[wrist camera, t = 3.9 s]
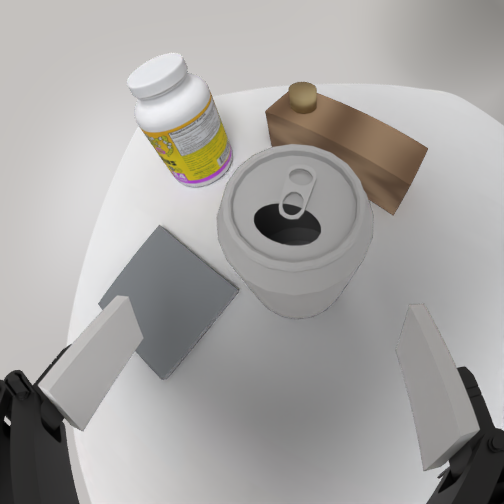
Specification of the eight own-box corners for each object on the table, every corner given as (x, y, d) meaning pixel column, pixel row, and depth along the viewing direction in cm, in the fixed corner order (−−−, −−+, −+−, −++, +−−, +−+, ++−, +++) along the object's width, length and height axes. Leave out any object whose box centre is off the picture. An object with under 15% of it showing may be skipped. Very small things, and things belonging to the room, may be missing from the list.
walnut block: (412, 180, 23) (435, 133, 17) (393, 215, 22) (418, 170, 16) (298, 119, 28) (294, 69, 21) (271, 146, 27) (262, 94, 21)
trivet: (239, 290, 22) (237, 288, 22) (166, 379, 21) (162, 379, 20) (163, 228, 26) (159, 224, 25) (102, 305, 24) (98, 303, 24)
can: (239, 302, 22) (176, 252, 11) (270, 221, 24) (243, 121, 13) (328, 332, 20) (360, 312, 9) (353, 245, 22) (391, 153, 11)
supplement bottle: (168, 159, 29) (112, 75, 17) (219, 132, 29) (182, 39, 17) (185, 201, 27) (118, 109, 15) (244, 169, 27) (207, 62, 15)
